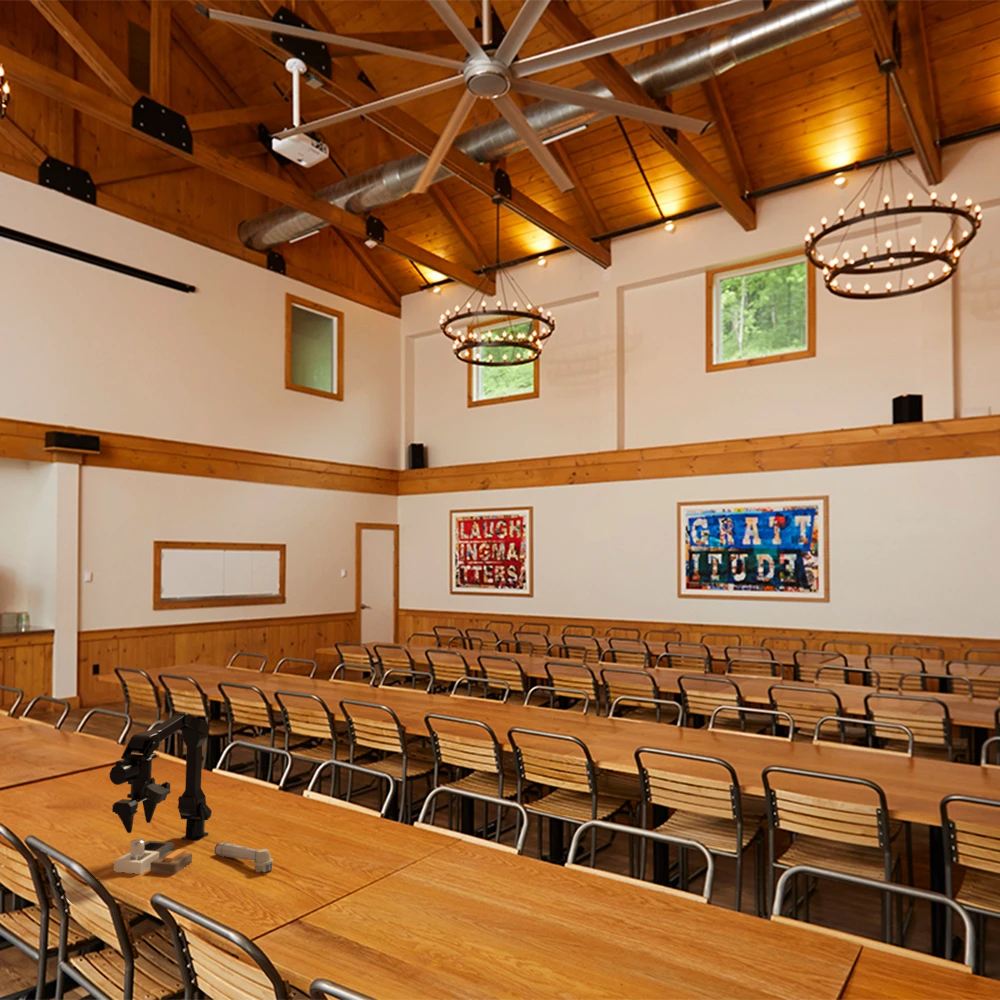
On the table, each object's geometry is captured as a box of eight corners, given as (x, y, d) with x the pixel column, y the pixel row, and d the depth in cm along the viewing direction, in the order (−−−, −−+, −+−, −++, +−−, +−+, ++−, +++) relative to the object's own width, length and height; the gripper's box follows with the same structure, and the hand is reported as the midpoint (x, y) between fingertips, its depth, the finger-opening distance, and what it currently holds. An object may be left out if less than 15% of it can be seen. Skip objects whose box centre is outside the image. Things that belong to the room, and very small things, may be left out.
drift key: (177, 860, 243) (178, 849, 243) (185, 861, 242) (185, 849, 243) (164, 869, 236) (164, 857, 236) (171, 869, 236) (172, 858, 236)
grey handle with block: (226, 839, 252) (276, 845, 238) (227, 861, 251) (277, 868, 237) (212, 844, 248) (262, 850, 234) (213, 866, 247) (263, 873, 233)
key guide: (168, 861, 243) (168, 851, 243) (191, 863, 241) (192, 853, 241) (150, 872, 234) (150, 862, 234) (174, 875, 232) (174, 864, 232)
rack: (133, 861, 243) (133, 849, 243) (158, 863, 241) (159, 851, 241) (113, 872, 234) (114, 860, 234) (140, 874, 232) (140, 862, 233)
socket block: (148, 848, 253) (148, 840, 254) (173, 850, 252) (173, 842, 252) (130, 858, 245) (130, 850, 245) (156, 861, 243) (156, 852, 243)
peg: (134, 864, 240) (136, 838, 240) (146, 865, 239) (147, 839, 240) (126, 869, 236) (127, 842, 237) (138, 870, 235) (139, 843, 236)
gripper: (145, 786, 229) (143, 840, 228) (182, 769, 248) (180, 819, 246) (112, 783, 231) (109, 837, 230) (151, 767, 250) (149, 817, 248)
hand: (139, 827), depth 239 cm, fingers open, 9 cm apart
